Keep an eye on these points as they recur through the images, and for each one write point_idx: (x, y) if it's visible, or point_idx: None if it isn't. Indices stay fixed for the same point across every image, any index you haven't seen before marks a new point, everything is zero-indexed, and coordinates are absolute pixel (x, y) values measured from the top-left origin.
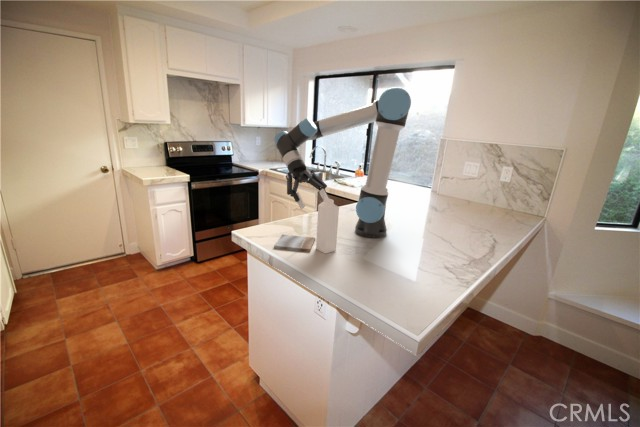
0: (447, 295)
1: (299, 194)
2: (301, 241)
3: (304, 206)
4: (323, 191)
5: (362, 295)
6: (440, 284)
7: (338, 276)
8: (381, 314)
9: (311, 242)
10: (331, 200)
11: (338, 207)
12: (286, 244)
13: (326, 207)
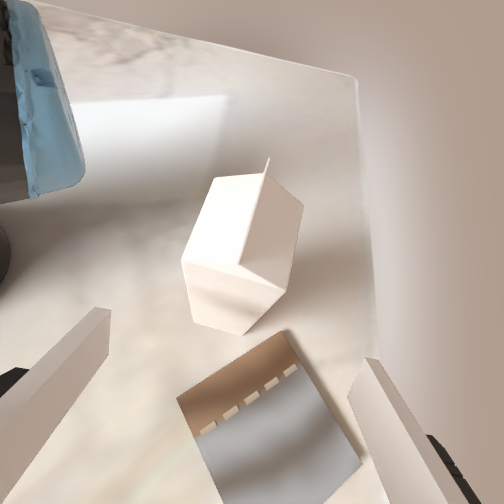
0: (236, 58)
1: (436, 475)
2: (251, 411)
3: (365, 365)
4: (25, 407)
5: (340, 144)
6: (206, 66)
7: (324, 200)
8: (356, 113)
9: (230, 371)
10: (264, 178)
11: (219, 179)
12: (317, 434)
13: (295, 215)
